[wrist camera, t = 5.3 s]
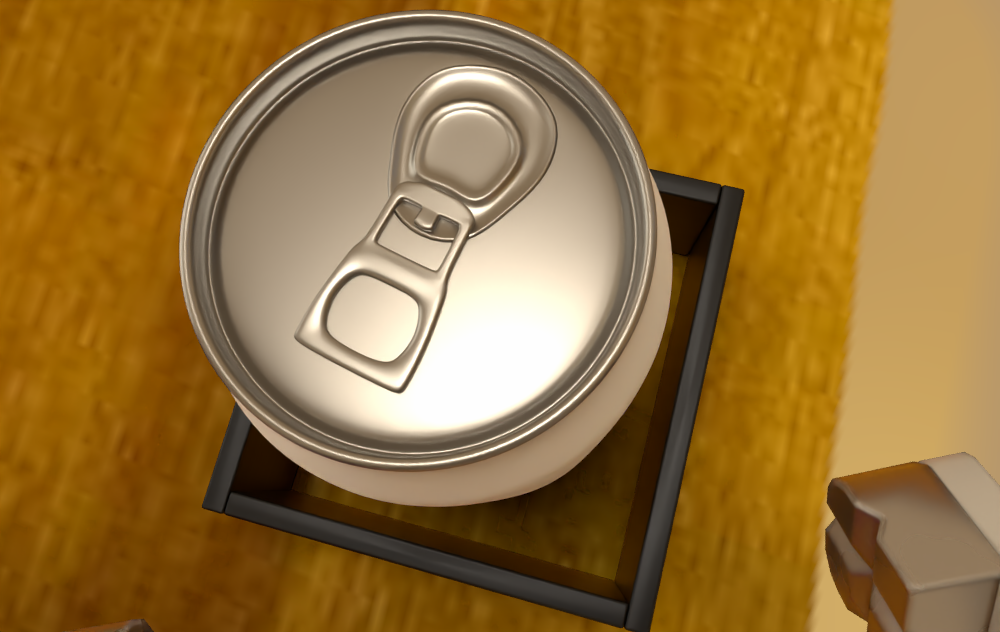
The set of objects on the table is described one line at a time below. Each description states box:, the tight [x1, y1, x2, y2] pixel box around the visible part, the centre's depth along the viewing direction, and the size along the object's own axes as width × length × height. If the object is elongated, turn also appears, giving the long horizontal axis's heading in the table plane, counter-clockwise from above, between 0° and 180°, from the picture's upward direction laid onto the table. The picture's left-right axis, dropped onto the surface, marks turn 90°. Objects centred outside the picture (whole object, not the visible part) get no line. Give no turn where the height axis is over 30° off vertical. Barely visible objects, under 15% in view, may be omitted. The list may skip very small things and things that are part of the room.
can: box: [179, 10, 672, 507], centre depth 15 cm, size 6×6×12 cm
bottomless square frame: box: [202, 169, 745, 632], centre depth 19 cm, size 10×10×4 cm
